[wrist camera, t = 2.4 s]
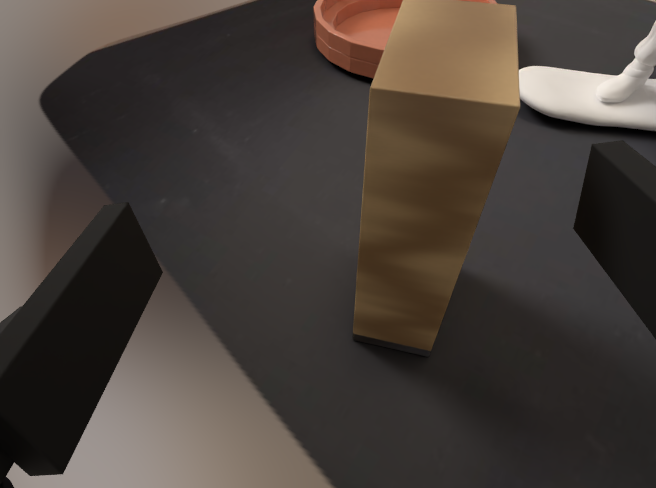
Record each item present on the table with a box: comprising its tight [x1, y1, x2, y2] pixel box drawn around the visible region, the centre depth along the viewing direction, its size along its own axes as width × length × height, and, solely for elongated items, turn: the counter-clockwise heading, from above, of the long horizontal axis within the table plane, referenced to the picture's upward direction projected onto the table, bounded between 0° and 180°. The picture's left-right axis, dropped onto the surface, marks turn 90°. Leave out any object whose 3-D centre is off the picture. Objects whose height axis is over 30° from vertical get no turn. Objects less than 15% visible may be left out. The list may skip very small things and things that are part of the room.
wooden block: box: [353, 0, 520, 357], centre depth 17 cm, size 4×6×13 cm, turn 165°
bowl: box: [314, 0, 497, 79], centre depth 39 cm, size 16×16×3 cm
